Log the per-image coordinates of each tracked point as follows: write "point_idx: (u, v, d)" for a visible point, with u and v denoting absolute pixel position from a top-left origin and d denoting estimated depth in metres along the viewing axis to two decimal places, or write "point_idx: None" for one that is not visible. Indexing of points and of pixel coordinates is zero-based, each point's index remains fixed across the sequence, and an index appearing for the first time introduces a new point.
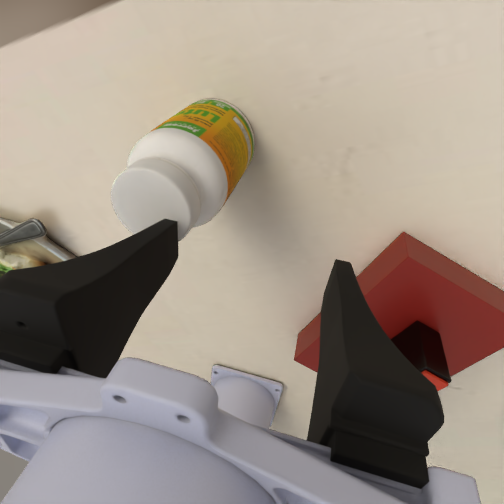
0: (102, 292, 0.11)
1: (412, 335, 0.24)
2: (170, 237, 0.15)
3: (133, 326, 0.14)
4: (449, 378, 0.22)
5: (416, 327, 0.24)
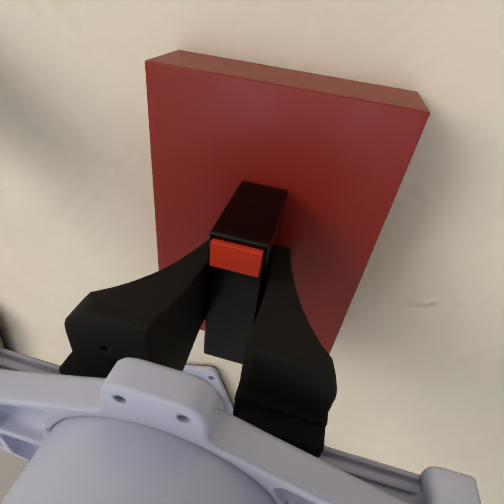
0: (178, 312, 0.11)
1: None
2: None
3: (192, 343, 0.14)
4: (265, 242, 0.11)
5: (236, 190, 0.14)
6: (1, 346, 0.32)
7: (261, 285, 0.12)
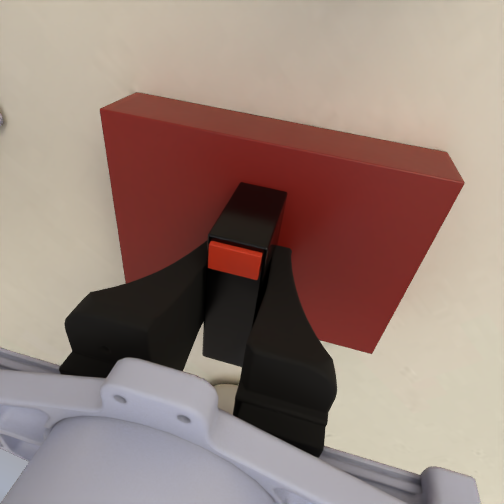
0: (178, 312, 0.11)
1: None
2: None
3: (192, 343, 0.14)
4: (263, 244, 0.11)
5: (235, 192, 0.14)
6: None
7: (260, 288, 0.12)
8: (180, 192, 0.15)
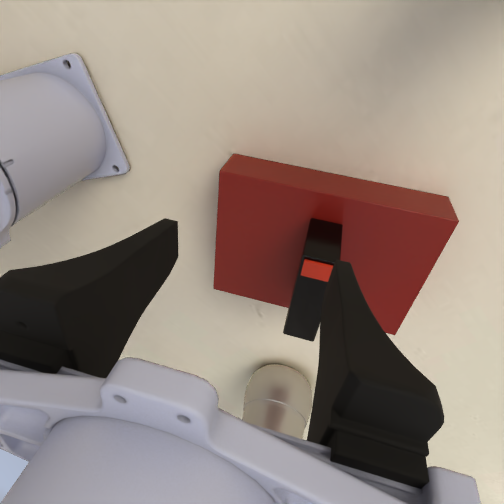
0: (103, 292, 0.11)
1: (306, 234, 0.21)
2: (170, 237, 0.15)
3: (133, 326, 0.14)
4: None
5: None
6: None
7: None
8: (267, 223, 0.22)
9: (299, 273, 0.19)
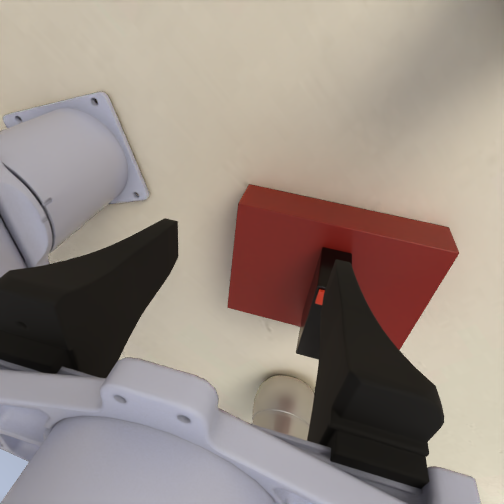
0: (103, 292, 0.11)
1: (319, 262, 0.23)
2: (170, 237, 0.15)
3: (133, 326, 0.14)
4: None
5: (320, 254, 0.23)
6: None
7: None
8: (281, 250, 0.24)
9: (313, 301, 0.21)
